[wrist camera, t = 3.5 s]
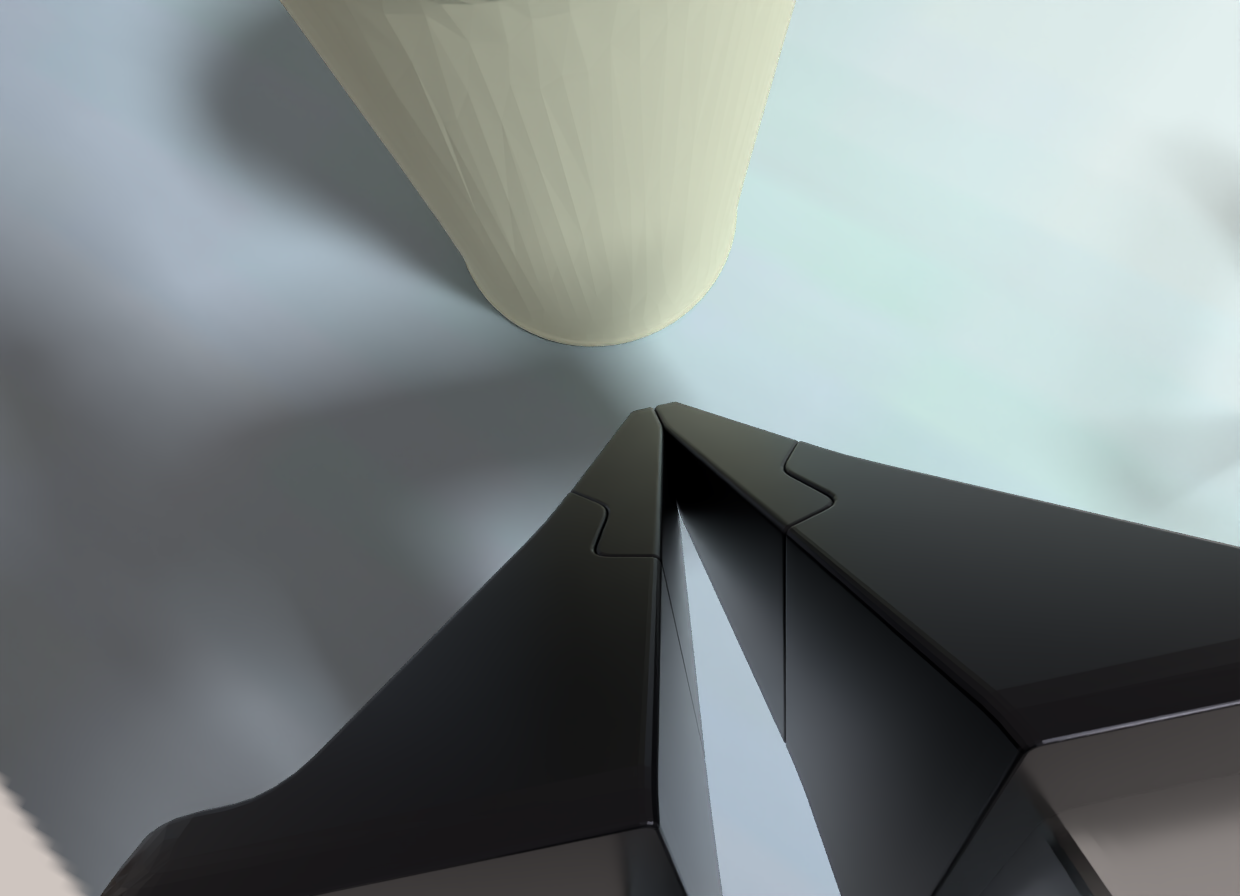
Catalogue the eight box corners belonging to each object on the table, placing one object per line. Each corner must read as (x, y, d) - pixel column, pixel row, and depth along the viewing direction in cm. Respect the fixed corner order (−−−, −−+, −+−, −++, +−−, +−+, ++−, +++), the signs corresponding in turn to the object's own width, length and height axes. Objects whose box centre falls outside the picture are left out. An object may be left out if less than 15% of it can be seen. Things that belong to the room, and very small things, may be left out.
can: (778, 144, 17) (1069, -689, 5) (668, 392, 16) (722, 53, 4) (531, 56, 18) (310, -817, 6) (414, 285, 17) (-106, -229, 5)
